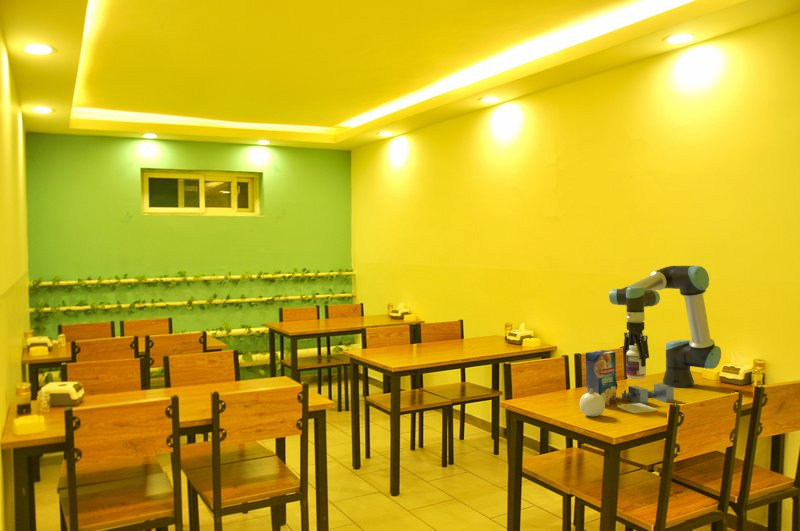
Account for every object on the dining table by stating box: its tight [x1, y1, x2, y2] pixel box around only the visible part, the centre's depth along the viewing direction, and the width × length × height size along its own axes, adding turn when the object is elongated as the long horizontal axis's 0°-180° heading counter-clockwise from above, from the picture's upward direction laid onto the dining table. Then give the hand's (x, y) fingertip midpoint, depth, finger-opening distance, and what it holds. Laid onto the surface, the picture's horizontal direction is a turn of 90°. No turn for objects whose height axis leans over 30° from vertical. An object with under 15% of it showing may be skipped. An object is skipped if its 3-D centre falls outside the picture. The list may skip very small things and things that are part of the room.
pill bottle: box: [625, 344, 647, 380], centre depth 288 cm, size 8×8×14 cm
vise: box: [621, 382, 675, 405], centre depth 304 cm, size 24×14×7 cm, turn 105°
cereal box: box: [585, 349, 617, 407], centre depth 299 cm, size 12×8×24 cm, turn 123°
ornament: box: [579, 389, 606, 418], centre depth 278 cm, size 10×10×12 cm
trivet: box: [616, 403, 658, 414], centre depth 288 cm, size 12×12×1 cm
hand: (636, 371), depth 288 cm, fingers closed on pill bottle, 8 cm apart
